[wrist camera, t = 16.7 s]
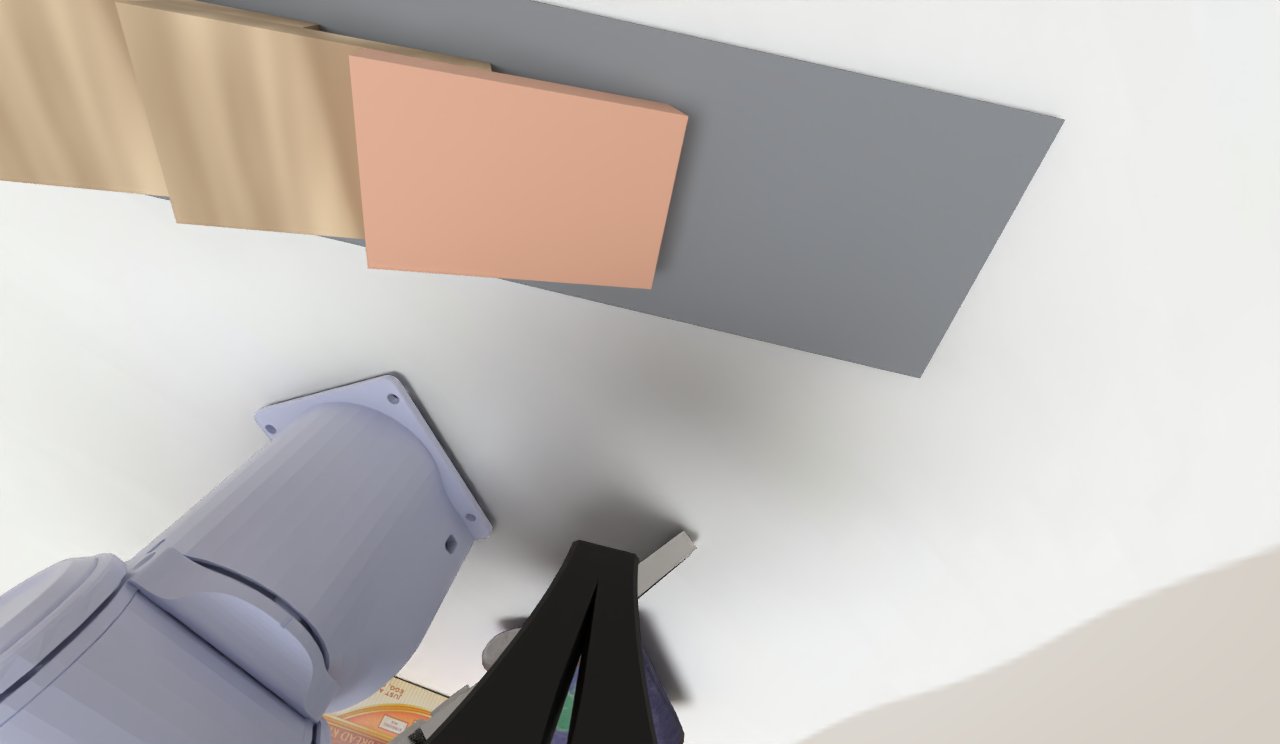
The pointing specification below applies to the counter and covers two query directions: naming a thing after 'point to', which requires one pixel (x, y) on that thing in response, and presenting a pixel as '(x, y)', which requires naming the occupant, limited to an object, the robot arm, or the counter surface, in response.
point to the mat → (764, 173)
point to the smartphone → (648, 576)
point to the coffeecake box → (383, 714)
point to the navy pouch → (661, 708)
